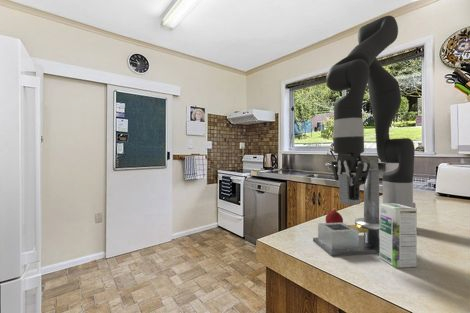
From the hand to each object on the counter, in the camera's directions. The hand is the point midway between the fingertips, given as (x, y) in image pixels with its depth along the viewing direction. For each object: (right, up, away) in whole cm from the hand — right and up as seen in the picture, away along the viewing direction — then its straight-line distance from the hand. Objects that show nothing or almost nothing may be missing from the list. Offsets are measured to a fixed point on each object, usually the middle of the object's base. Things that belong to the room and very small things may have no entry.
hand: (349, 197), depth 63 cm
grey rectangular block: (0, -1, 0) cm, 1 cm away
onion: (+4, -16, +19) cm, 25 cm away
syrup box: (+10, -16, -5) cm, 19 cm away
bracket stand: (+4, -15, +5) cm, 17 cm away
